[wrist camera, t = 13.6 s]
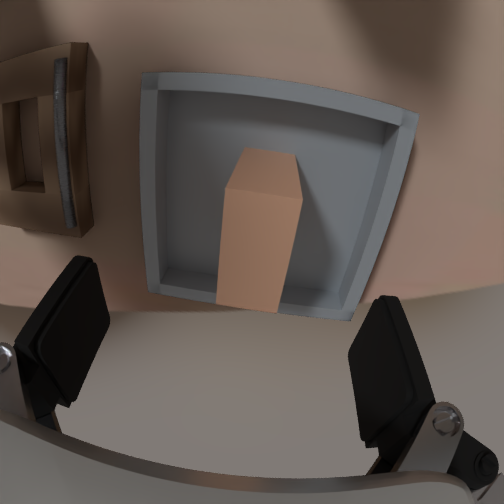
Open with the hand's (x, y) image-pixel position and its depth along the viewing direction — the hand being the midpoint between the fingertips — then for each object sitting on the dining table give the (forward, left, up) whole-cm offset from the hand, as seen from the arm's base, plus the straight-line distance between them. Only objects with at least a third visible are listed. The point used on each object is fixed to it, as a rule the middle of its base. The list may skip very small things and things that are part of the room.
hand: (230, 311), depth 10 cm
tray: (+1, +1, -11) cm, 11 cm away
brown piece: (-2, -17, -11) cm, 21 cm away
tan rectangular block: (0, +1, -11) cm, 11 cm away
